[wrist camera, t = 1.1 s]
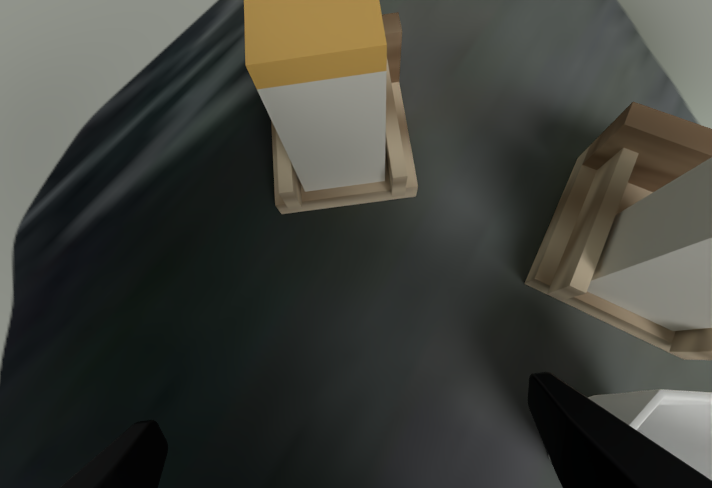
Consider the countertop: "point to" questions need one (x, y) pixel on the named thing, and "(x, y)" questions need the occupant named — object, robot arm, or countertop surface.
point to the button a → (322, 85)
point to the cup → (668, 421)
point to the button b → (663, 255)
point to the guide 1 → (397, 151)
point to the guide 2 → (605, 200)
